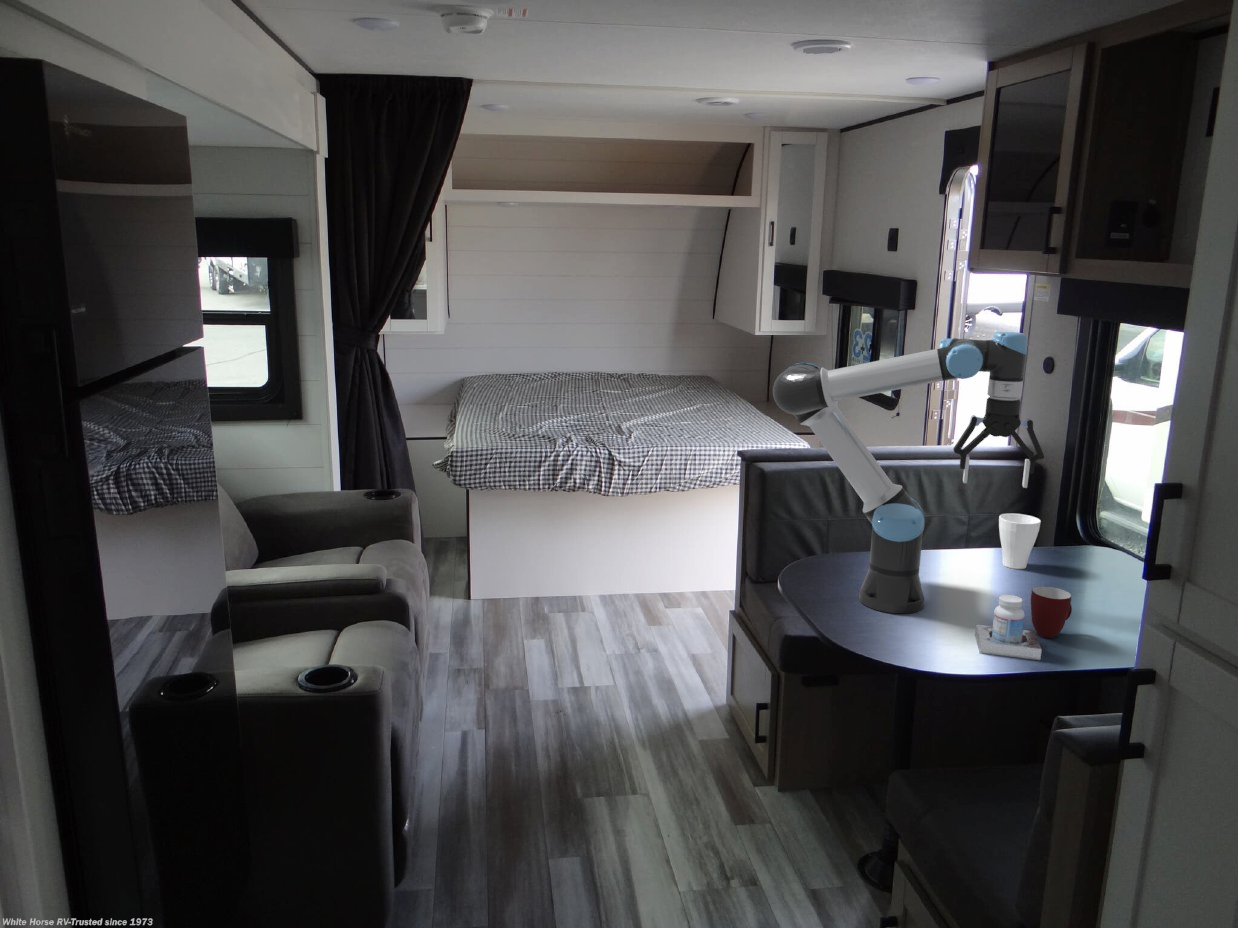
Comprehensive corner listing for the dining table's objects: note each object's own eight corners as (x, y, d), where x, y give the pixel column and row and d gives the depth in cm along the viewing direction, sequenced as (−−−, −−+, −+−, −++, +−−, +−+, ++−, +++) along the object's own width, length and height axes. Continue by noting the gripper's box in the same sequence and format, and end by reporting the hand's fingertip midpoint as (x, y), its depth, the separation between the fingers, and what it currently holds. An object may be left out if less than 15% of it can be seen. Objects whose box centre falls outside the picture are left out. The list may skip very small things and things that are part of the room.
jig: (979, 652, 197) (980, 641, 196) (975, 634, 206) (976, 624, 206) (1040, 660, 194) (1041, 649, 193) (1033, 641, 203) (1034, 631, 203)
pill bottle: (1019, 643, 202) (1025, 595, 200) (1021, 654, 196) (1028, 605, 194) (989, 639, 204) (995, 591, 201) (991, 650, 198) (997, 601, 196)
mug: (1047, 623, 214) (1052, 582, 212) (1080, 635, 207) (1086, 593, 205) (1019, 631, 208) (1024, 590, 206) (1051, 644, 202) (1057, 601, 200)
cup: (1037, 564, 256) (1043, 517, 253) (1031, 574, 247) (1037, 526, 244) (997, 557, 261) (1003, 511, 258) (990, 567, 252) (995, 519, 249)
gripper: (949, 396, 219) (941, 483, 224) (1063, 403, 213) (1052, 492, 217) (947, 392, 226) (939, 476, 231) (1058, 398, 220) (1047, 484, 224)
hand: (994, 484), depth 224 cm, fingers open, 13 cm apart
